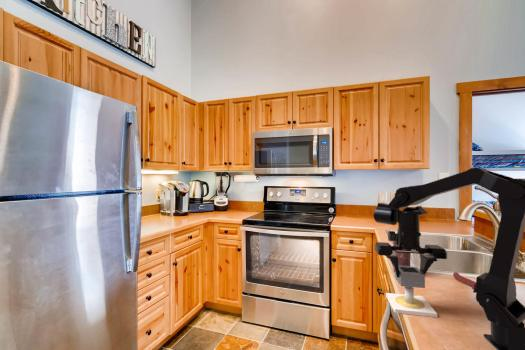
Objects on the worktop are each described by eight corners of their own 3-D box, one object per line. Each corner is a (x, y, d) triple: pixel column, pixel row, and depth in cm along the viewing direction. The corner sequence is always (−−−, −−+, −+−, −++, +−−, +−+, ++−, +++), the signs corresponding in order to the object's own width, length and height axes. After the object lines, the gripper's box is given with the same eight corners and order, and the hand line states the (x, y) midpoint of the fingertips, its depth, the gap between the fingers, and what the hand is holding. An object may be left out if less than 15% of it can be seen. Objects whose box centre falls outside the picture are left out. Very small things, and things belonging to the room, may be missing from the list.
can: (410, 272, 107) (410, 238, 107) (409, 277, 102) (409, 241, 102) (394, 269, 110) (394, 236, 110) (392, 274, 105) (392, 239, 105)
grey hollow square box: (424, 288, 75) (424, 274, 75) (401, 286, 77) (401, 272, 77) (417, 279, 81) (416, 267, 82) (395, 278, 83) (395, 265, 83)
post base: (437, 317, 72) (437, 297, 72) (394, 312, 75) (394, 293, 75) (422, 299, 83) (422, 282, 83) (385, 295, 86) (385, 279, 86)
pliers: (470, 298, 84) (470, 290, 84) (452, 276, 103) (451, 270, 103) (515, 305, 80) (515, 297, 80) (487, 281, 99) (487, 274, 99)
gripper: (431, 224, 85) (432, 271, 85) (371, 222, 89) (372, 266, 89) (447, 230, 74) (448, 284, 74) (378, 228, 78) (379, 279, 78)
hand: (409, 277), depth 79 cm, fingers closed on grey hollow square box, 6 cm apart
